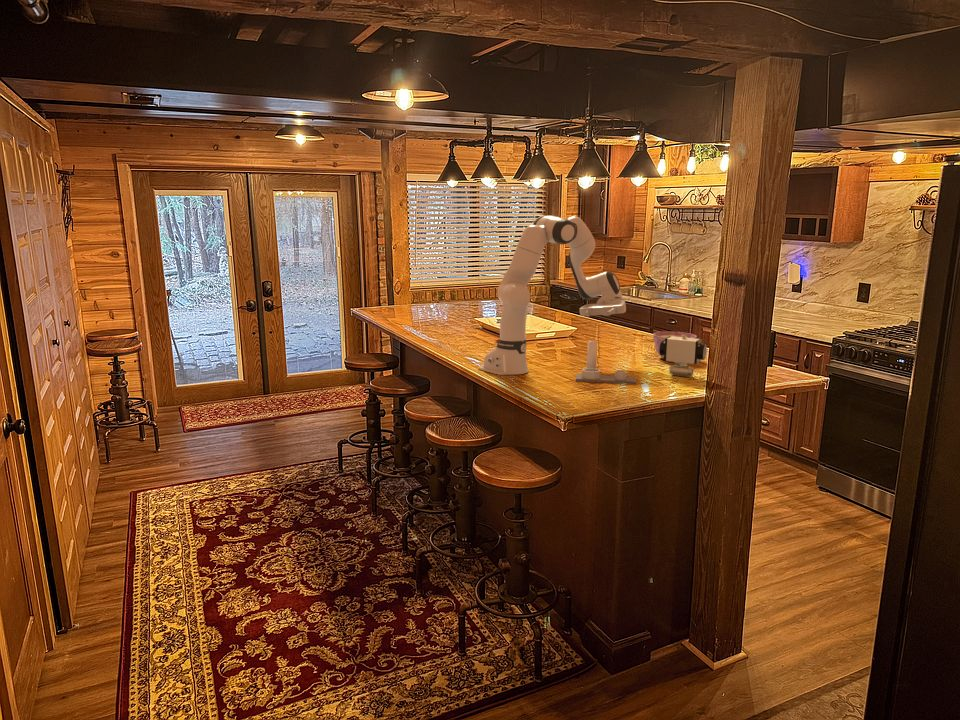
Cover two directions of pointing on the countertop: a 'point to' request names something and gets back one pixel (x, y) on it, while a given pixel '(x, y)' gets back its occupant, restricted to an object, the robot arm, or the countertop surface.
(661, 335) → the clear bowl
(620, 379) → the plate
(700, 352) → the ball valve
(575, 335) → the countertop surface
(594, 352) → the pvc pipe
